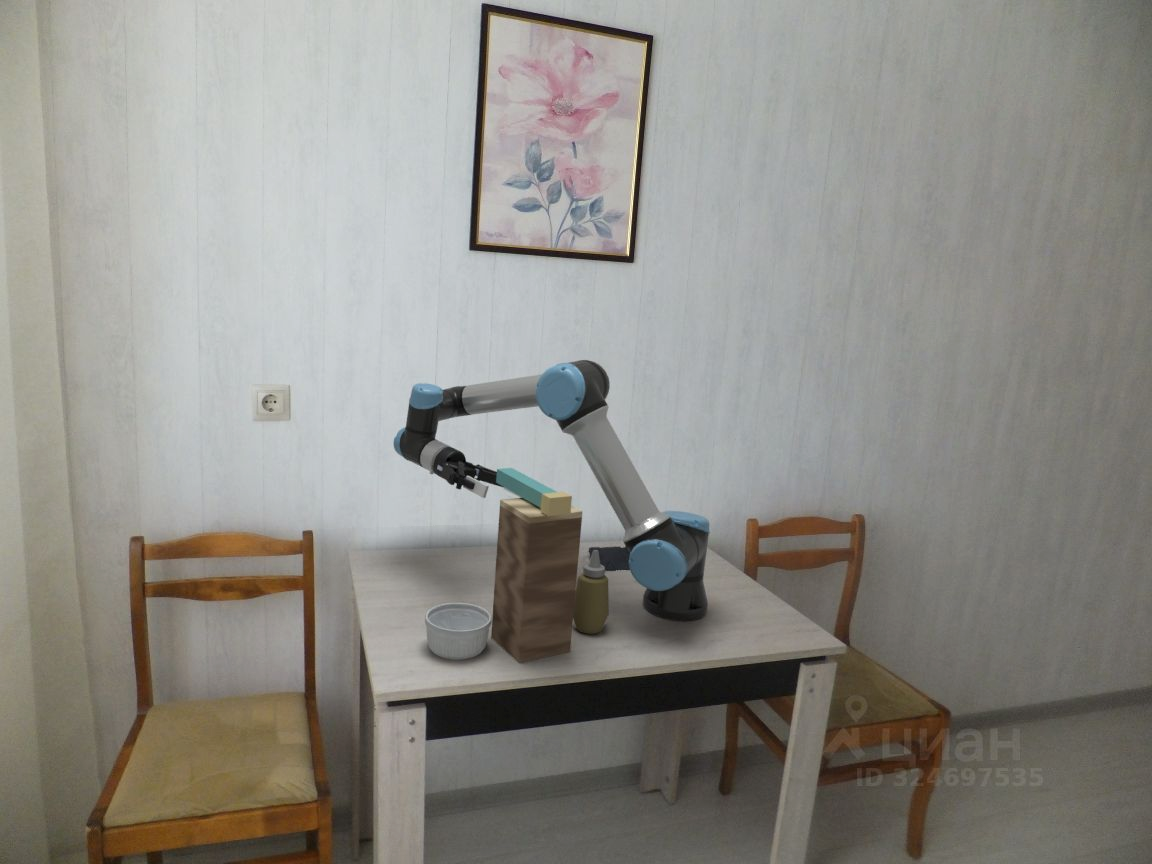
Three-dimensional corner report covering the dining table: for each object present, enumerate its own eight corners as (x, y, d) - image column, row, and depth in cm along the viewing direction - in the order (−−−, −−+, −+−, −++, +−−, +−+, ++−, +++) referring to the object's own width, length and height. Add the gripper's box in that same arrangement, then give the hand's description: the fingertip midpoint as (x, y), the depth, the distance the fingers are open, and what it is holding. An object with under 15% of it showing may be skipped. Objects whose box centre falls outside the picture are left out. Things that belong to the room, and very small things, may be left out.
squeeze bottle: (570, 619, 187) (577, 542, 183) (607, 622, 187) (614, 546, 183) (569, 635, 179) (576, 555, 175) (607, 638, 179) (614, 558, 175)
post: (491, 637, 175) (500, 499, 169) (540, 627, 181) (551, 494, 175) (519, 662, 165) (529, 517, 159) (570, 651, 172) (582, 511, 165)
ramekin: (496, 660, 165) (498, 627, 164) (429, 666, 161) (431, 632, 160) (481, 631, 178) (483, 600, 176) (418, 636, 173) (420, 604, 172)
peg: (492, 484, 179) (494, 467, 178) (513, 482, 181) (514, 466, 181) (548, 516, 160) (549, 498, 159) (570, 513, 163) (571, 495, 162)
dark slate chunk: (581, 553, 231) (583, 536, 230) (654, 549, 238) (655, 534, 237) (601, 573, 217) (603, 556, 216) (678, 569, 224) (680, 553, 223)
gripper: (475, 477, 210) (536, 509, 197) (399, 473, 190) (462, 507, 177) (484, 449, 209) (546, 479, 196) (409, 442, 189) (472, 474, 176)
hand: (506, 492), depth 187 cm, fingers open, 13 cm apart
